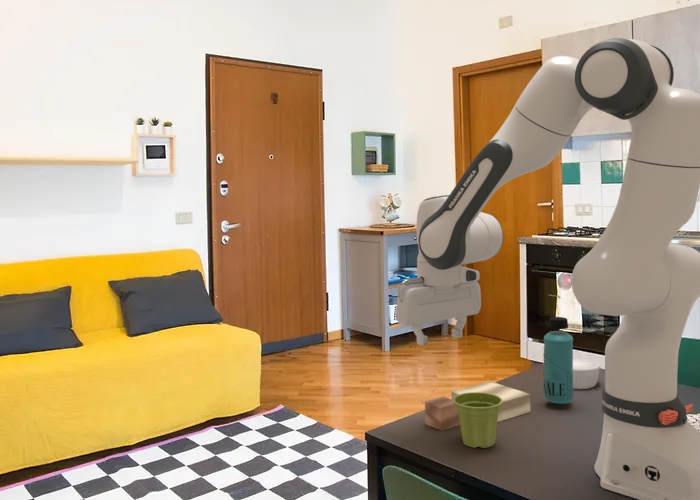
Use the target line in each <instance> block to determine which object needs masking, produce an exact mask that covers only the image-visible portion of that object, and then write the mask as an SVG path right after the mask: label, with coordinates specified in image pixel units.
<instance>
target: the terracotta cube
mask: <svg viewBox="0 0 700 500" xmlns="http://www.w3.org/2000/svg"><path fill="white" fill-rule="evenodd" d="M424 420H425V425H427V426H429V427H431V426H432V427H431V428H433V427H434V428H433V429H436V430H438V431H440V430H442V431H445V429H446V430H449V429H452V428H455V427H454V426H456V427H459V426H460V421H459V415H458V410H457V409H456V404H455V403H454V402H453V400H452V398H449V397H448V398H447V397H445V396H439V397H436V398H433V399H428V400H425V401H424ZM458 425H459V426H458ZM451 427H452V428H451ZM448 428H449V429H448Z"/></svg>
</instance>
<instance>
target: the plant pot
mask: <svg viewBox="0 0 700 500" xmlns="http://www.w3.org/2000/svg"><path fill="white" fill-rule="evenodd" d="M453 402H454V403H455V404H456V409H457V410H458V415H459V426H460V433H461V438H462V443H463V444H464V445H466V446H467V447H469V448H474V449H475V448H478V447H479V448H482V449H486V448H490V447H492V446H494V445H495V443H496V438H497V437H496V436H497V426H498V422H497V420H498V412H499V410H500V405H501V404H502V403H503V400H502V398H501V397H499V396H497V395H494V394H489V393H482V392H470V393H463V394H459V395H457V396H455V397H454V398H453Z"/></svg>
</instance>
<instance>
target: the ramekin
mask: <svg viewBox="0 0 700 500" xmlns="http://www.w3.org/2000/svg"><path fill="white" fill-rule="evenodd" d="M600 370H601V364H600V363H599V362H597V361H596V360H592V359H588V358H578V357H577V358H576V357H573V390H589V389H592V388H594V387H595V386H596V385H597V383H598V379H599V373H600Z"/></svg>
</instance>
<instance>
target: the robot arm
mask: <svg viewBox="0 0 700 500" xmlns="http://www.w3.org/2000/svg"><path fill="white" fill-rule="evenodd" d="M674 72H675V71H674V67H673V63H672V61H671V59H670V57H669V56H668V55H667V54H666V53H665V52H664V51H663V50H662V49H661V48H659V47H657V46H656V45H655V46H654V45H651V44H649V43H647V42H646V41H642V40H640V39H633V38H624V37H623V38H622V37H611V38H607V39H604V40H601V41H599V42H597V43H595V44H593V45H592V46H591V47H589V48H587V50H586V51H585V52H584V53H583V54H582V56H581V57H580V59H578V58H576V57H573V56H569V55H556V56H553V57H551V58H549V59H548V60H546V61H545V62H544V63H543V64H542V66H541V67H540V68H539V69H538V71H536V73H535V74H534V76H532V78H531V80H530V81H529V82H528V83H527V85H526V87H525V88H524V90H522V93H521V94H520V95H519V98H518V99H517V101H515V104H514V106H513V108H512V109H511V111H510V113H509V114H508V116H507V118H505V121H504V122H503V123H502V125H501V126H500V128H499V129H498V131H497V132H496V133H495V135H494V136H493V137H492V138H491V139H490V140H489V141H488V142H487V144H485V145H484V147H483V148H482V149H481V150H480V151H479V153H478V154H477V155H476V156H475V157H474V159H473V160H472V162H471V163H470V164H469V166H468V167H467V168H466V170H465V171H464V173H463V174H462V176H461V177H460V179H459V180H458V182H457V183H456V184H455V187H454V188H453V190H452V191H451V192H450V194H446V195H439V196H438V195H437V196H436V195H435V196H432V197H431V196H430V197H428V198H425V199H423V200H422V201H421V202H420V203H419V206H418V209H417V215H416V243H417V246H418V253H417V258H416V267H417V268H416V269H417V270H416V271H417V272H416V273H417V275H416V276H417V277H413V278H406V279H404V280H403V281H401V283H400V284H399V286H398V287H397V300H396V312H395V317H396V318H395V319H396V321H397V322H398V324H399V325H402V326H405V327H411V330H412V331H413V333H414V335H415V337H416V344H417V345H418V346H425V345H427V344H428V342H429V341H428V335H425V334H424V332H423V331H422V330H423V329H424V324H428V323H434V322H439V321H440V322H441V321H446V320H450V319H454V320H455V321H456V322H455V325H454V328H451V337H452V338H454V339H460V338H463V330H464V327H465V326H466V323H467V321H468V320H467V317H468V316H473V315H478V314H479V312H480V311H481V309H482V295H481V294H482V293H481V291H482V290H481V285H480V284H479V282H478V281H480V272H479V271H478V270H477V269H473V268H470V267H466V266H463V265H467V264H473V263H477V262H483V261H487V260H490V259H492V258H494V257H495V256H497V255H498V254H499V252H500V251H501V249H502V246H503V242H504V231H503V228H502V225H501V224H500V221H499V220H498V219H497V218H496V217H495V216H494V215H492V214H490V213H486V212H483V209H484V208H485V206H486V205H487V204H488V202H489V201H490V199H491V198H492V197H493V195H494V194H495V193H496V192H497V191H498V190H499V189H500V188H501V187H503V186H504V185H506V184H507V183H509V182H511V181H512V180H514V179H515V180H516V178H518V177H521V176H523V175H526V174H528V173H529V174H530V173H532V172H534V171H537V170H541V169H542V168H545V167H547V166H548V165H550V163H552V161H553V160H555V158H556V157H558V155H559V154H561V152H562V150H563V149H564V147H566V145H567V143H568V141H569V140H570V138H571V137H572V136H573V134H574V131H575V130H576V128H577V127H578V125H579V124H580V122H581V120H582V119H583V118H584V117H585V115H586V114H587V113H588V112H589V111H591V110H592V109H593V108H595V109H596V110H599V111H602V112H604V113H607V114H609V115H611V116H613V117H615V118H617V119H619V120H622V121H626V120H628V122H629V123H630V124H629V125H630V128H631V134H630V143H629V148H628V153H627V158H626V163H625V168H624V172H623V177H622V182H621V187H620V192H619V196H618V199H617V203H616V206H615V209H614V211H613V213H612V216H611V218H610V220H609V221H608V224H607V226H606V228H605V229H604V231H603V232H602V234H601V236H600V237H599V239H598V241H597V242H596V244H595V245H594V246H593V247H592V248H591V250H590V251H589V252H588V253H586V254H585V255H584V256H583V257H581V258H580V259H579V260H578V261H577V262H576V264H575V266H574V268H573V270H572V275H571V288H572V293H573V295H574V297H575V299H576V301H577V302H578V303H579V305H580V306H581V308H583V309H585V310H586V311H587V312H589V313H592V314H598V315H603V316H604V315H605V316H614V317H615V316H616V317H619V316H620V317H621V316H622V319H621V322H620V324H619V326H618V327H617V329H616V331H615V332H614V333H613V334H612V335H611V336H610V338H608V340H607V341H606V345H605V347H604V348H605V349H604V387H603V388H602V390H601V391H602V394H601V411H602V415H603V424H602V425H603V426H602V433H601V441H600V445H599V450H598V455H597V458H596V461H595V463H594V467H593V468H594V472H595V473H596V475H598V477H599V478H600V487H601V488H603V489H605V490H608V491H610V492H613V493H617V494H621V495H623V496H627V497H630V498H633V499H637V500H700V431H699V430H698V429H697V428H696V427H694V425H693V424H692V423H690V422H689V421H688V415H687V413H690V412H692V411H693V410H694V408H693V409H692V407H693V406H694V404H693V403H689V404H687V405H684V404H683V402H682V400H681V398H680V395H679V394H678V365H679V353H680V352H679V349H680V346H681V340H682V337H683V333H684V330H685V328H686V325H687V322H688V319H689V316H690V313H691V312H692V309H693V307H694V305H695V303H696V302H697V300H698V298H700V252H699V251H698V250H697V249H695V248H693V247H692V246H691V247H690V246H688V245H683V244H679V243H672V241H673V239H674V238H675V235H676V234H677V233H678V232H679V230H680V229H681V228H683V226H684V225H686V224H687V223H688V222H689V221H690V220H691V218H692V217H693V215H694V213H695V209H696V205H697V200H698V197H699V191H700V93H697V92H696V91H693V90H691V89H688V88H681V87H680V88H679V87H675V86H673V82H674V77H675V73H674Z"/></svg>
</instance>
